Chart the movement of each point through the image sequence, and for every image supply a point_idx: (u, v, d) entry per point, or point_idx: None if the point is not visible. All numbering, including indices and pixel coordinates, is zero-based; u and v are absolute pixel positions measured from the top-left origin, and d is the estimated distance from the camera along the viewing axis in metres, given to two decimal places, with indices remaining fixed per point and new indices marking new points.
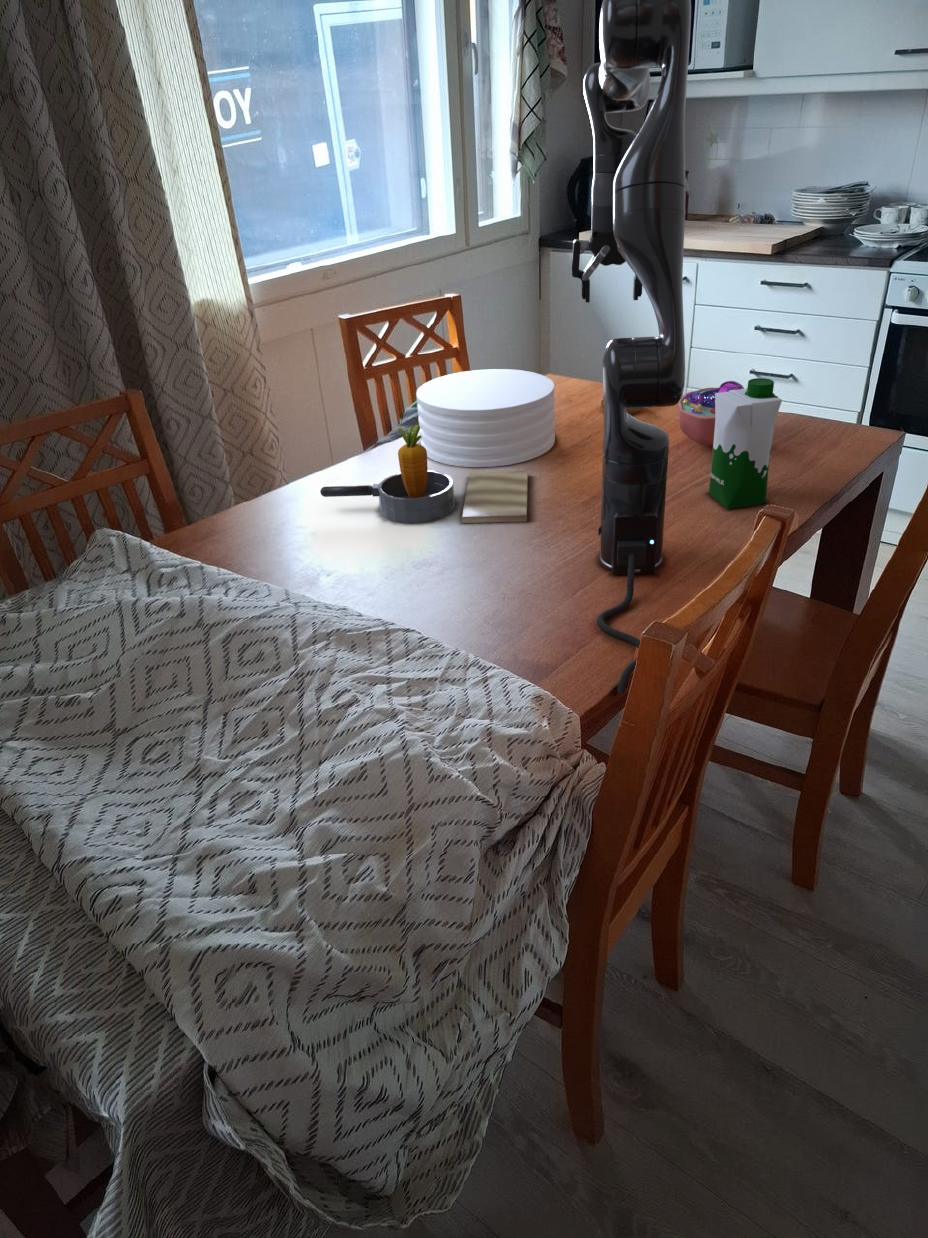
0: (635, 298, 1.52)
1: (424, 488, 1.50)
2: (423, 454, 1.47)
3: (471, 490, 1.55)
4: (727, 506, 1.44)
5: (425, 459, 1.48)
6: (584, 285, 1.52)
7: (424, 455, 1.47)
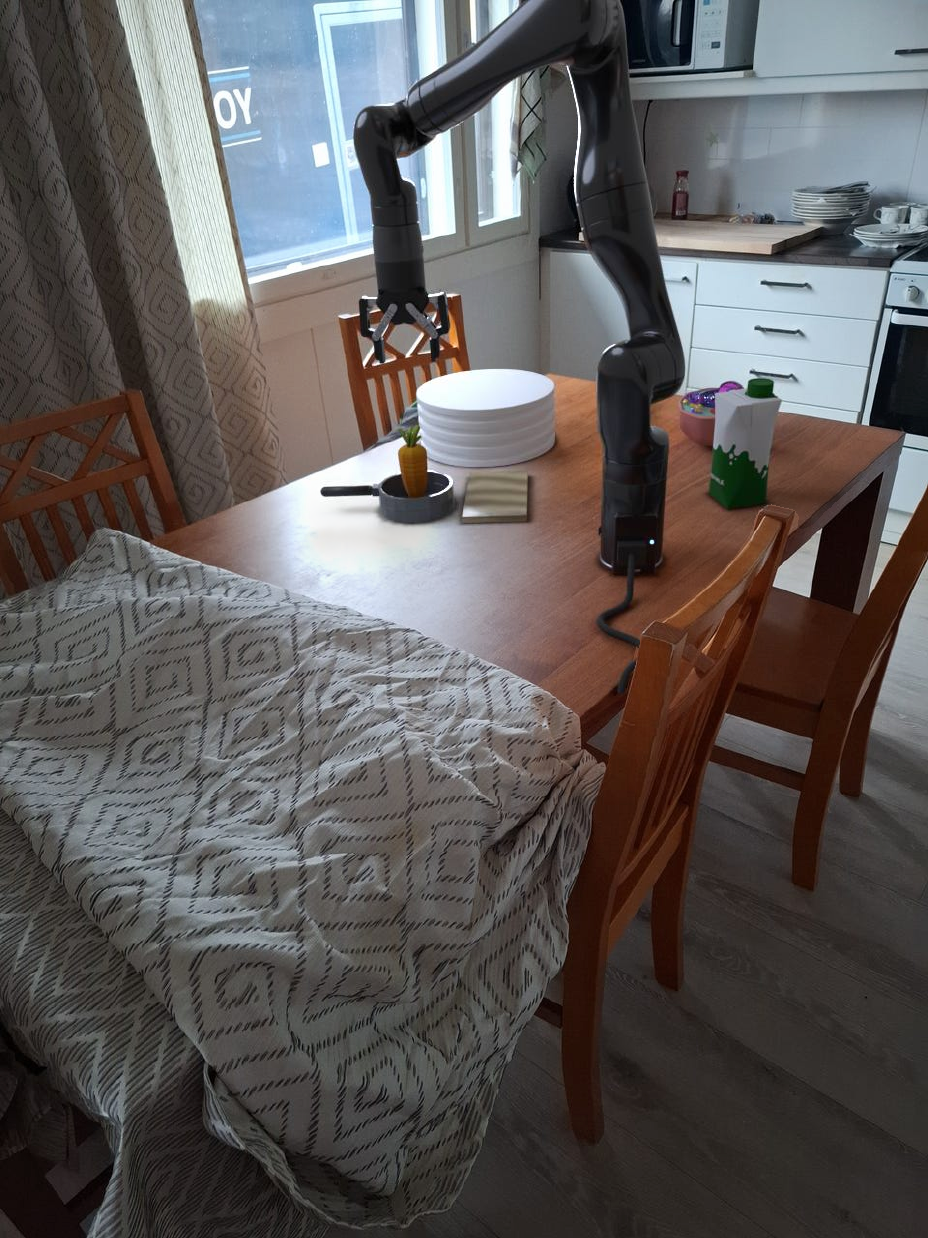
0: (432, 360, 1.39)
1: (424, 488, 1.50)
2: (423, 454, 1.47)
3: (471, 490, 1.55)
4: (727, 506, 1.44)
5: (425, 459, 1.48)
6: (376, 345, 1.39)
7: (424, 455, 1.47)
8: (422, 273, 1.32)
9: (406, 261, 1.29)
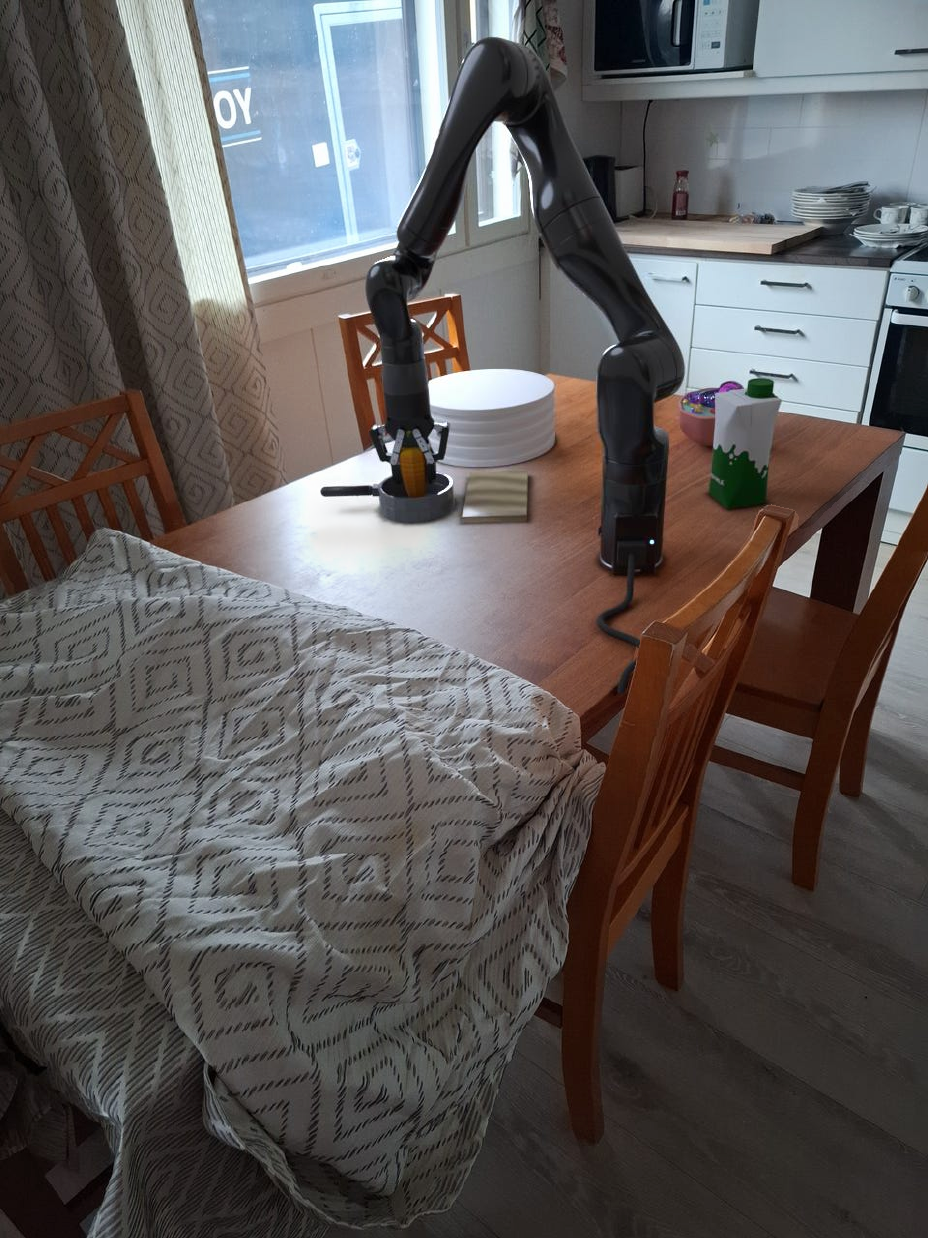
0: (429, 482, 1.49)
1: (424, 488, 1.50)
2: (423, 453, 1.47)
3: (471, 490, 1.55)
4: (727, 506, 1.44)
5: (425, 459, 1.48)
6: (394, 468, 1.49)
7: (424, 455, 1.47)
8: (428, 402, 1.42)
9: (413, 394, 1.39)
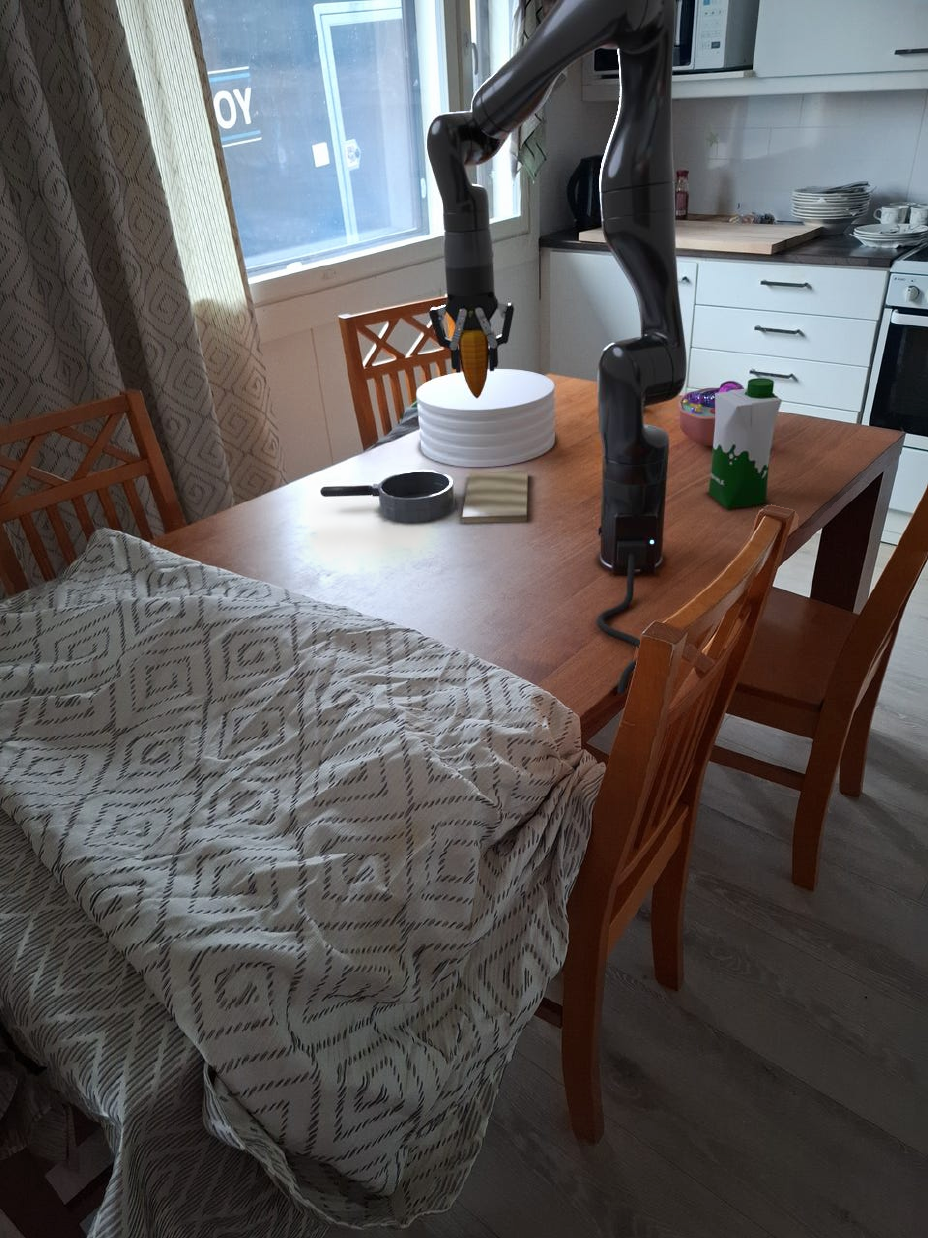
0: (491, 369, 1.40)
1: (485, 376, 1.42)
2: (485, 337, 1.38)
3: (471, 490, 1.55)
4: (727, 506, 1.44)
5: (487, 343, 1.39)
6: (453, 355, 1.40)
7: (486, 339, 1.38)
8: (492, 278, 1.33)
9: (478, 266, 1.30)
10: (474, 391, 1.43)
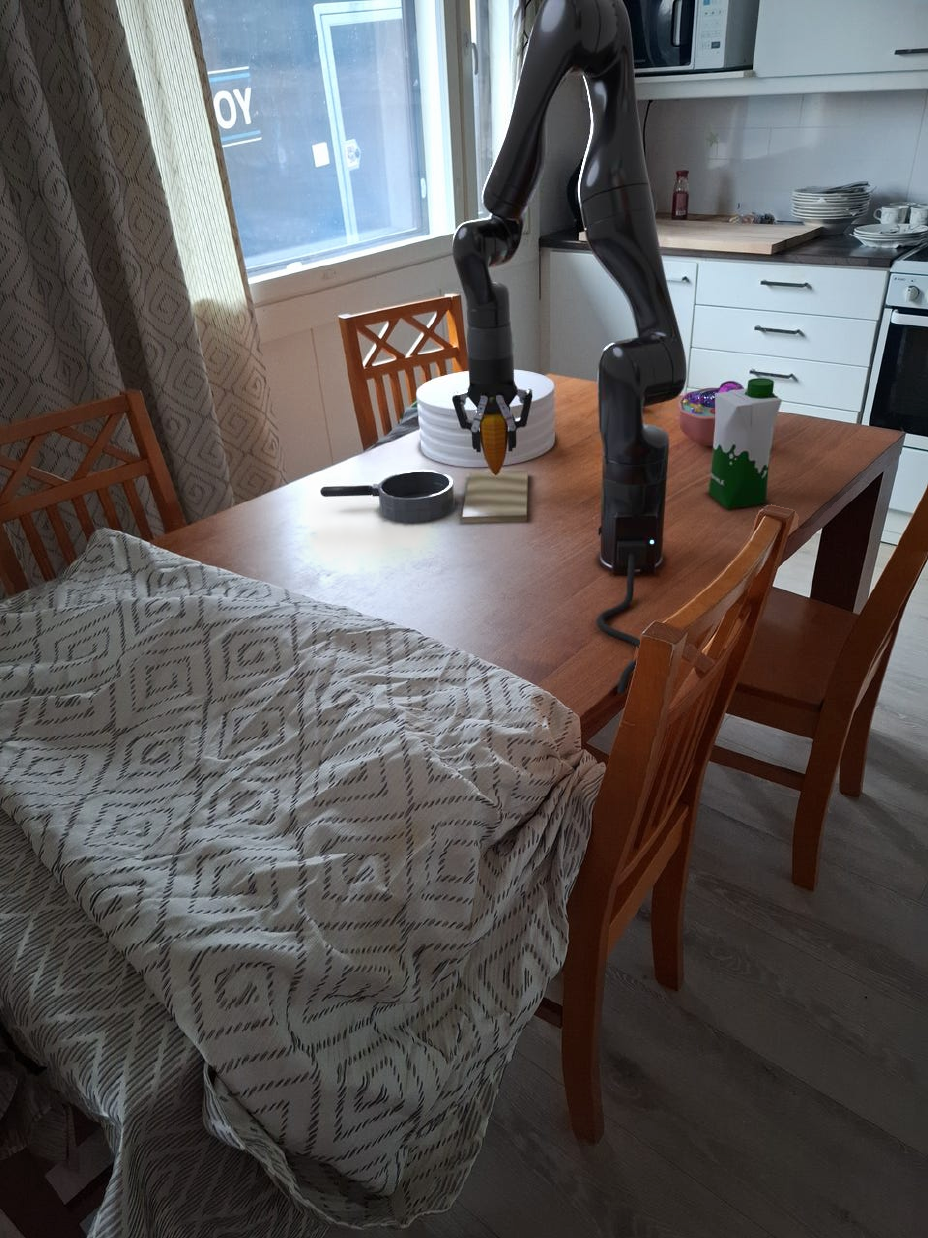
0: (509, 450, 1.48)
1: (504, 456, 1.49)
2: (505, 420, 1.46)
3: (471, 490, 1.55)
4: (727, 506, 1.44)
5: (506, 426, 1.47)
6: (474, 436, 1.48)
7: (505, 422, 1.46)
8: (512, 368, 1.41)
9: (499, 359, 1.38)
10: (493, 469, 1.50)
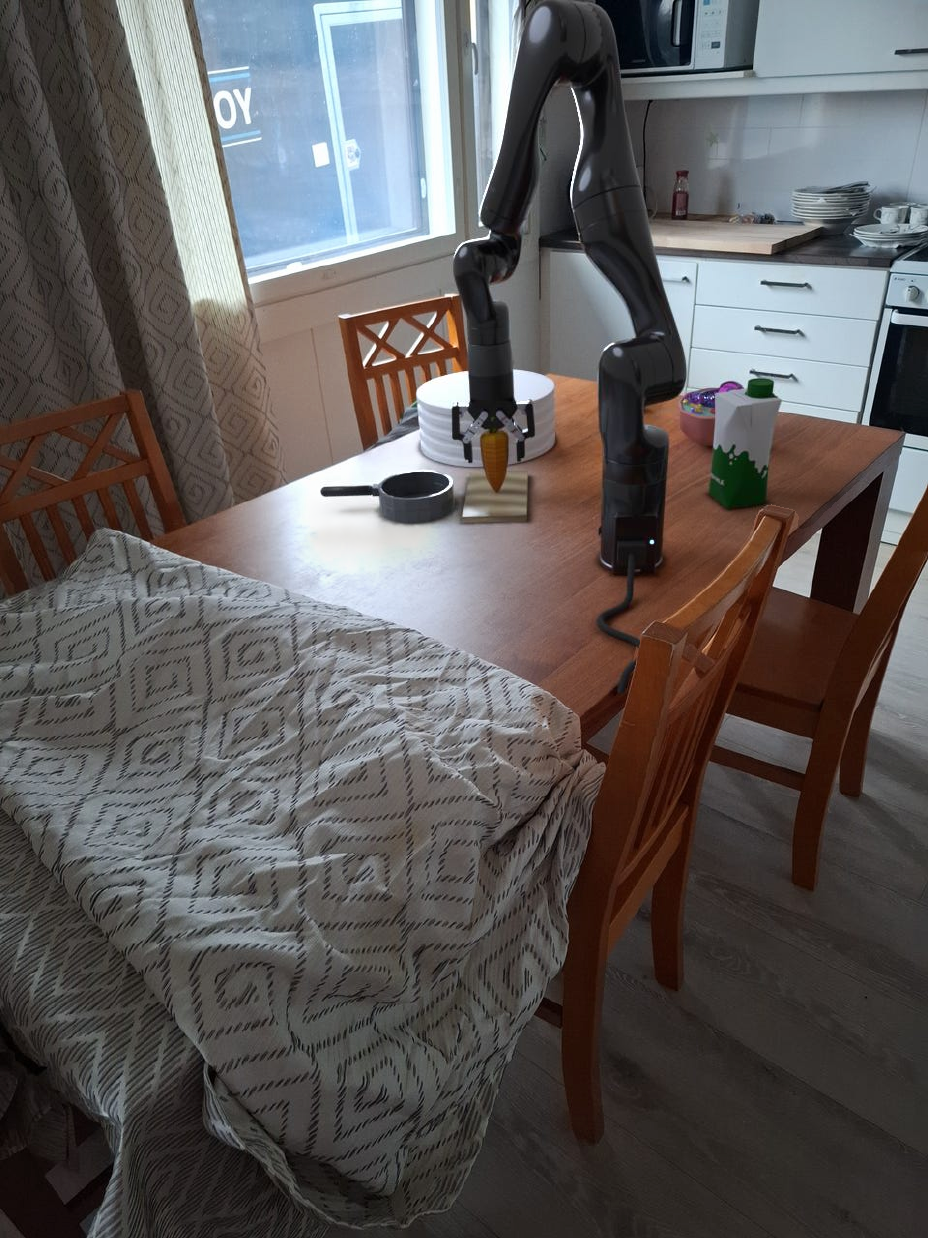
0: (518, 460, 1.49)
1: (504, 474, 1.51)
2: (506, 439, 1.48)
3: (471, 490, 1.55)
4: (727, 506, 1.44)
5: (507, 445, 1.48)
6: (466, 447, 1.49)
7: (506, 441, 1.48)
8: (512, 384, 1.42)
9: (499, 375, 1.39)
10: (494, 487, 1.52)
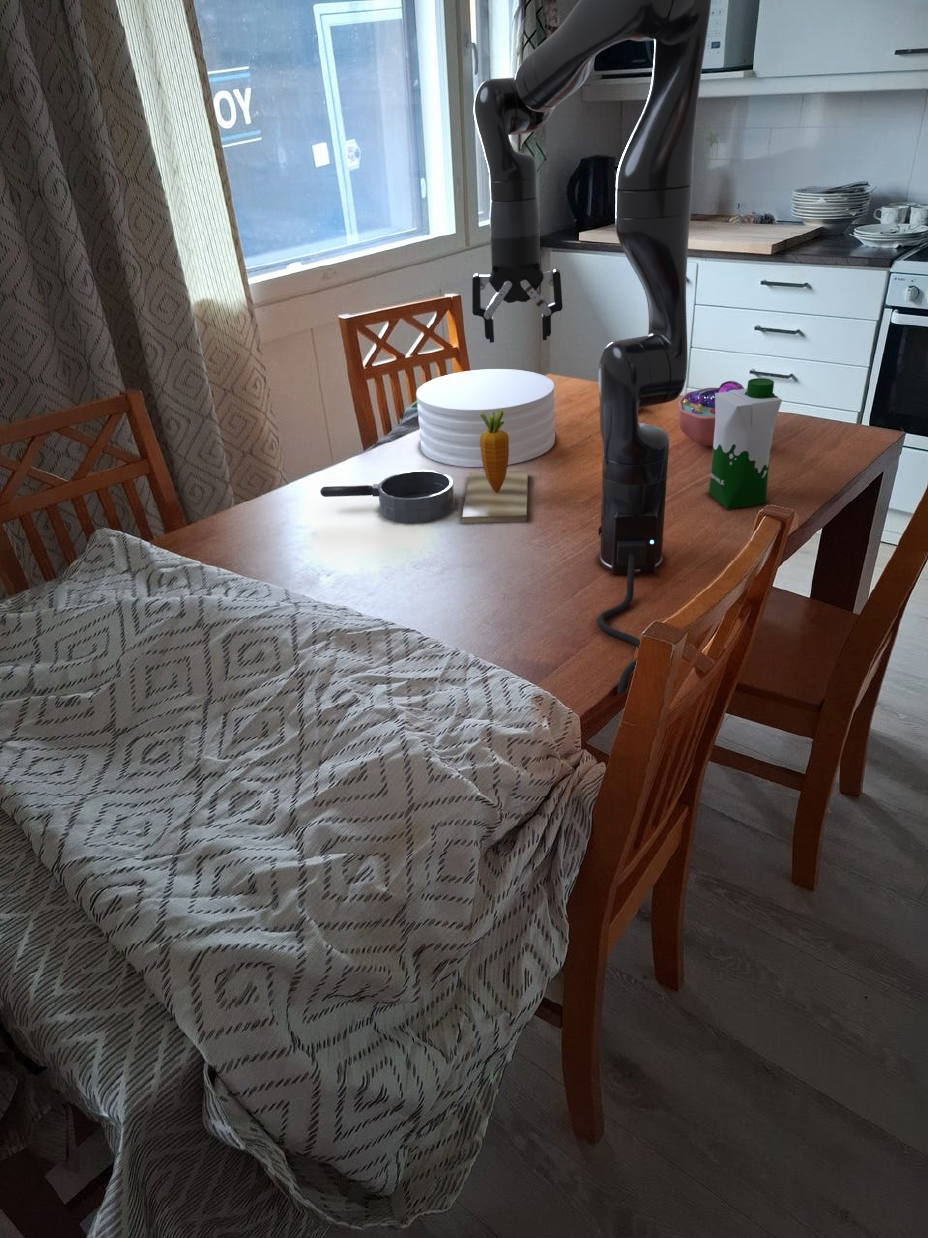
0: (544, 338, 1.38)
1: (504, 474, 1.51)
2: (506, 439, 1.48)
3: (471, 490, 1.55)
4: (727, 506, 1.44)
5: (507, 445, 1.48)
6: (487, 324, 1.37)
7: (506, 441, 1.48)
8: (538, 249, 1.31)
9: (525, 236, 1.28)
10: (494, 487, 1.52)
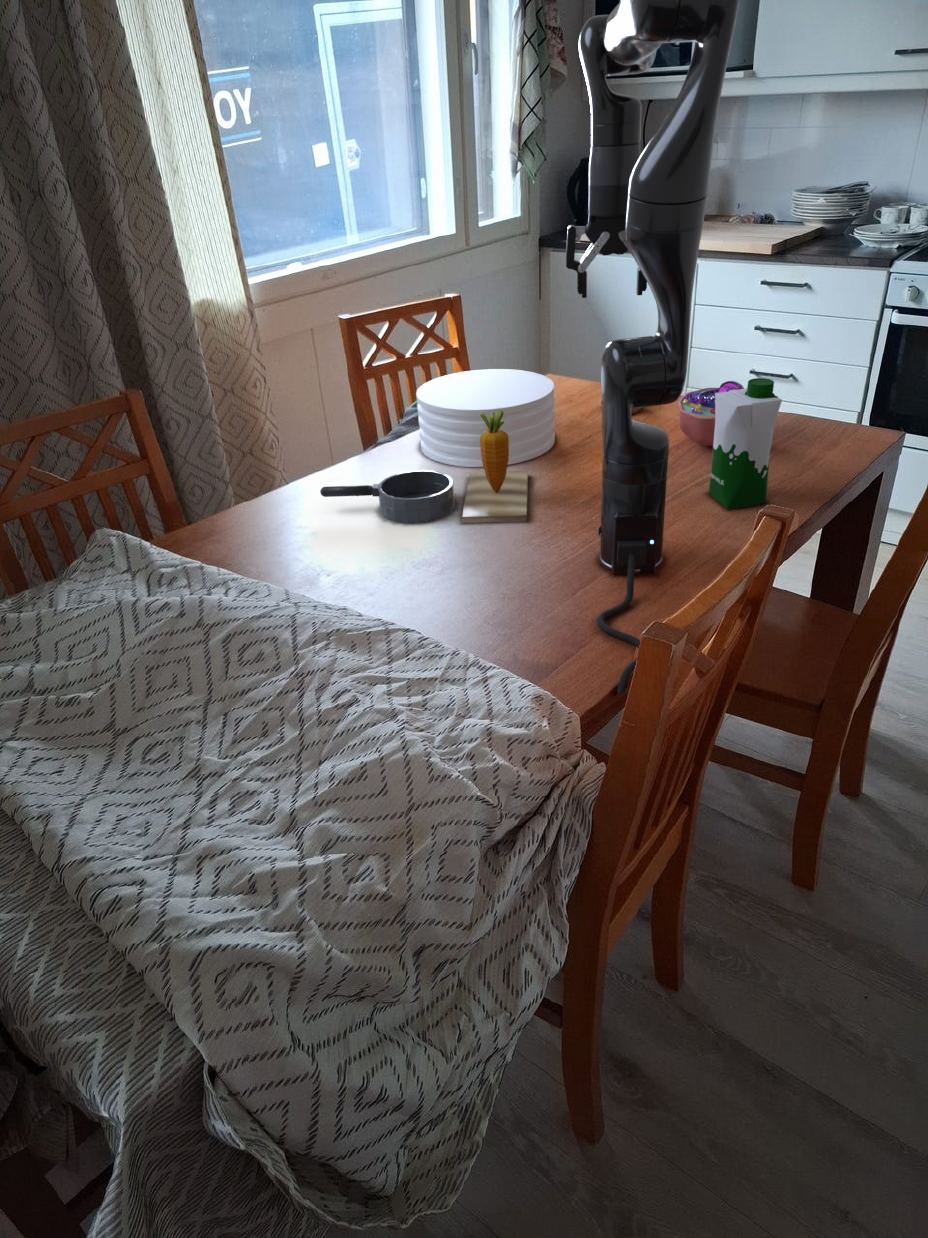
0: (639, 293, 1.32)
1: (504, 474, 1.51)
2: (506, 439, 1.48)
3: (471, 490, 1.55)
4: (727, 506, 1.44)
5: (507, 445, 1.48)
6: (580, 278, 1.32)
7: (506, 441, 1.48)
8: None
9: (627, 184, 1.23)
10: (494, 487, 1.52)
